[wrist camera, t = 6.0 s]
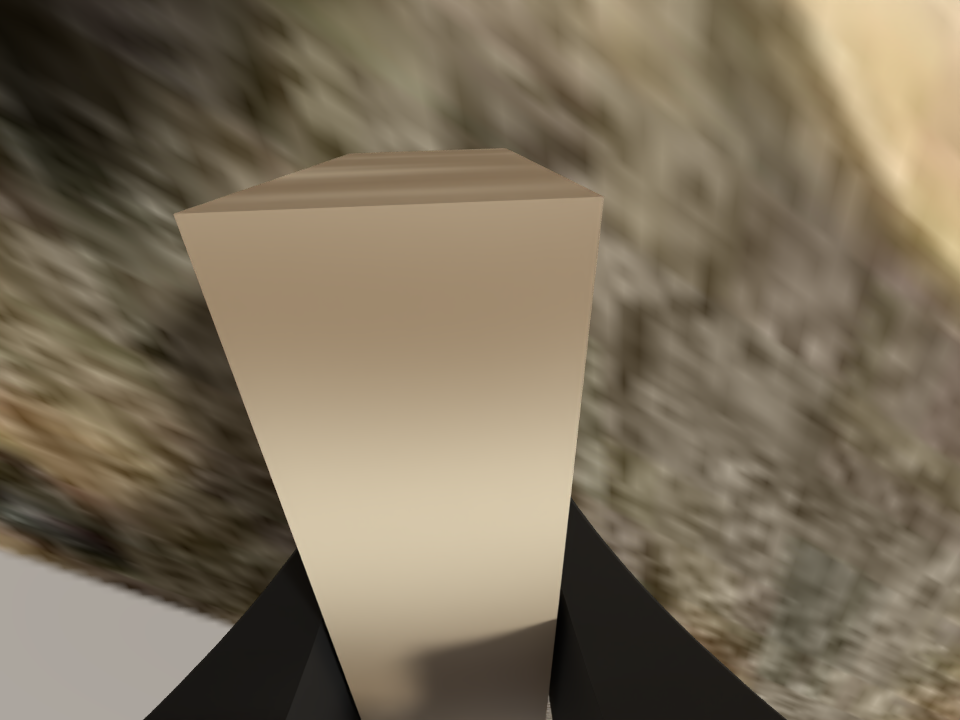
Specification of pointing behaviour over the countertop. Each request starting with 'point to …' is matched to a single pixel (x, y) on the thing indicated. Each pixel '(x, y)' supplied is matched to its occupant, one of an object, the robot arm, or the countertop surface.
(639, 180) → the countertop surface
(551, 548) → the rail
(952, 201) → the countertop surface
